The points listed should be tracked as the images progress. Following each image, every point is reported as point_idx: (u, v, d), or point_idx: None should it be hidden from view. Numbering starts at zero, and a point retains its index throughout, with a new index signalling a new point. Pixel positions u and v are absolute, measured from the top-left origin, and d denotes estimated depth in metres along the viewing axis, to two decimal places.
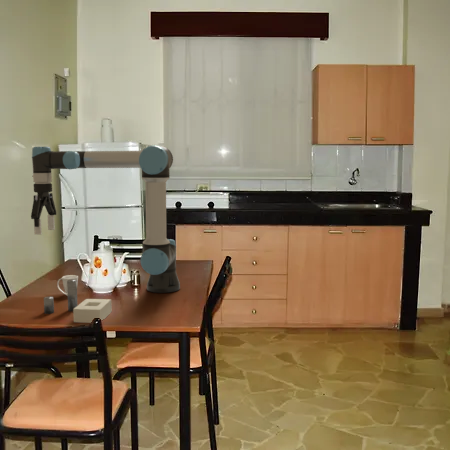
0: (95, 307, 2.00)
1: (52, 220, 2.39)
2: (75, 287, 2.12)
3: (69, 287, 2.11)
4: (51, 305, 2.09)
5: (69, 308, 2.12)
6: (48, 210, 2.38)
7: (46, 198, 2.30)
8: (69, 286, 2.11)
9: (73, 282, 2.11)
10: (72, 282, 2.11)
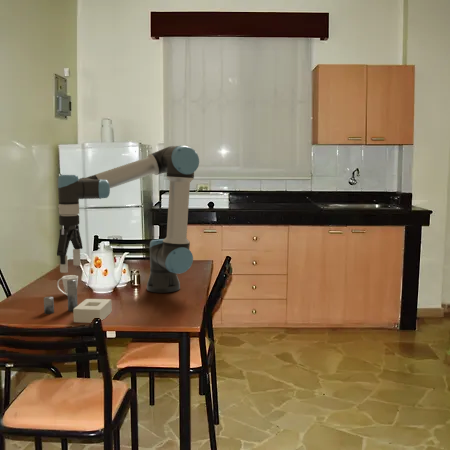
0: (95, 307, 2.00)
1: (78, 255, 2.17)
2: (75, 287, 2.12)
3: (69, 287, 2.11)
4: (51, 305, 2.09)
5: (69, 308, 2.12)
6: (74, 244, 2.16)
7: (73, 232, 2.08)
8: (69, 286, 2.11)
9: (73, 282, 2.11)
10: (72, 282, 2.11)
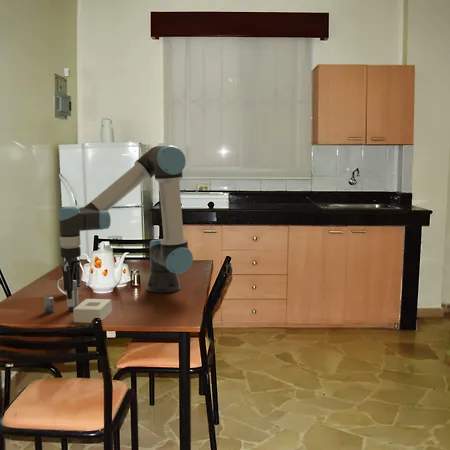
0: (95, 307, 2.00)
1: None
2: (75, 287, 2.12)
3: None
4: (51, 305, 2.09)
5: (69, 308, 2.12)
6: None
7: (74, 264, 2.10)
8: None
9: (73, 282, 2.11)
10: None
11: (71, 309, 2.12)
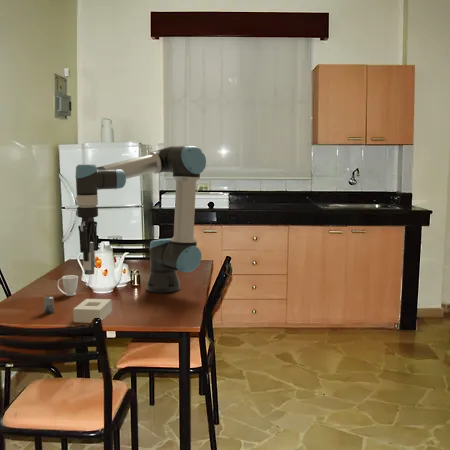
0: (95, 307, 2.00)
1: None
2: (92, 249, 2.01)
3: None
4: (51, 305, 2.09)
5: (85, 271, 2.02)
6: None
7: (91, 224, 1.99)
8: None
9: (90, 244, 2.00)
10: None
11: (87, 272, 2.01)
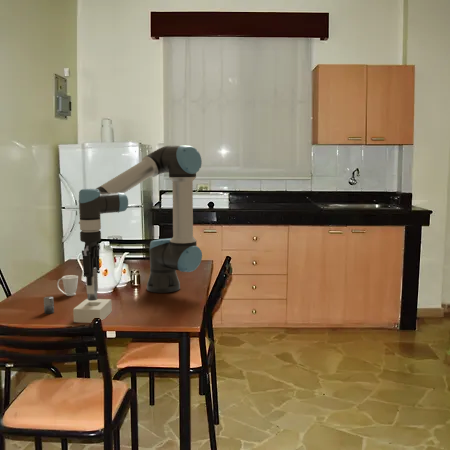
0: (95, 307, 2.00)
1: None
2: (95, 275, 2.02)
3: None
4: (51, 305, 2.09)
5: (89, 297, 2.02)
6: None
7: (95, 248, 2.00)
8: None
9: (93, 270, 2.01)
10: None
11: (91, 298, 2.02)
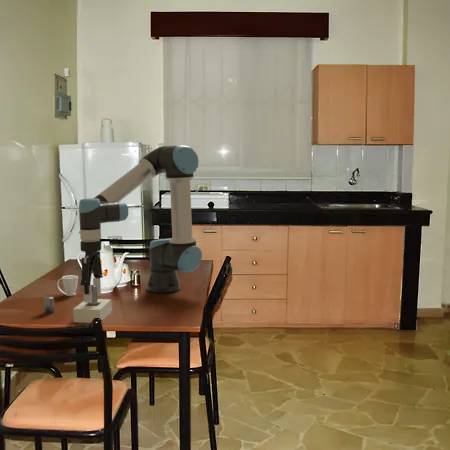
0: (95, 307, 2.00)
1: (98, 284, 2.08)
2: (96, 293, 2.03)
3: None
4: (51, 305, 2.09)
5: None
6: (94, 272, 2.07)
7: (95, 258, 2.00)
8: None
9: (94, 288, 2.02)
10: (93, 288, 2.02)
11: None
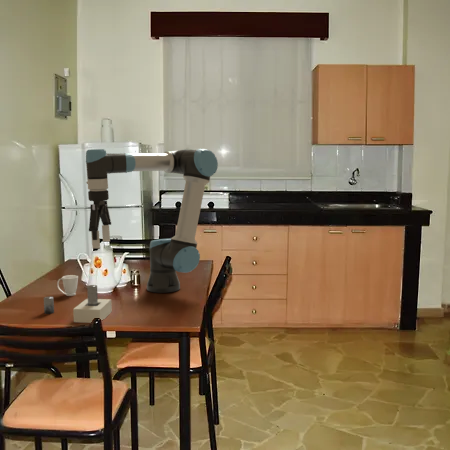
0: (95, 307, 2.00)
1: (107, 231, 2.14)
2: (96, 293, 2.03)
3: (89, 293, 2.02)
4: (51, 305, 2.09)
5: None
6: (103, 220, 2.13)
7: (103, 207, 2.05)
8: (89, 292, 2.02)
9: (94, 288, 2.02)
10: (93, 288, 2.02)
11: None
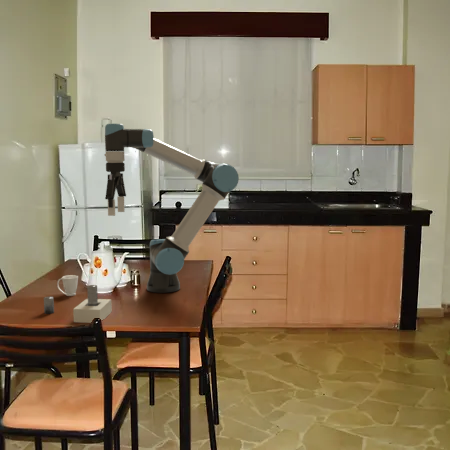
0: (95, 307, 2.00)
1: (122, 202, 2.29)
2: (96, 293, 2.03)
3: (89, 293, 2.02)
4: (51, 305, 2.09)
5: None
6: (118, 191, 2.28)
7: (119, 178, 2.20)
8: (89, 292, 2.02)
9: (94, 288, 2.02)
10: (93, 288, 2.02)
11: None
